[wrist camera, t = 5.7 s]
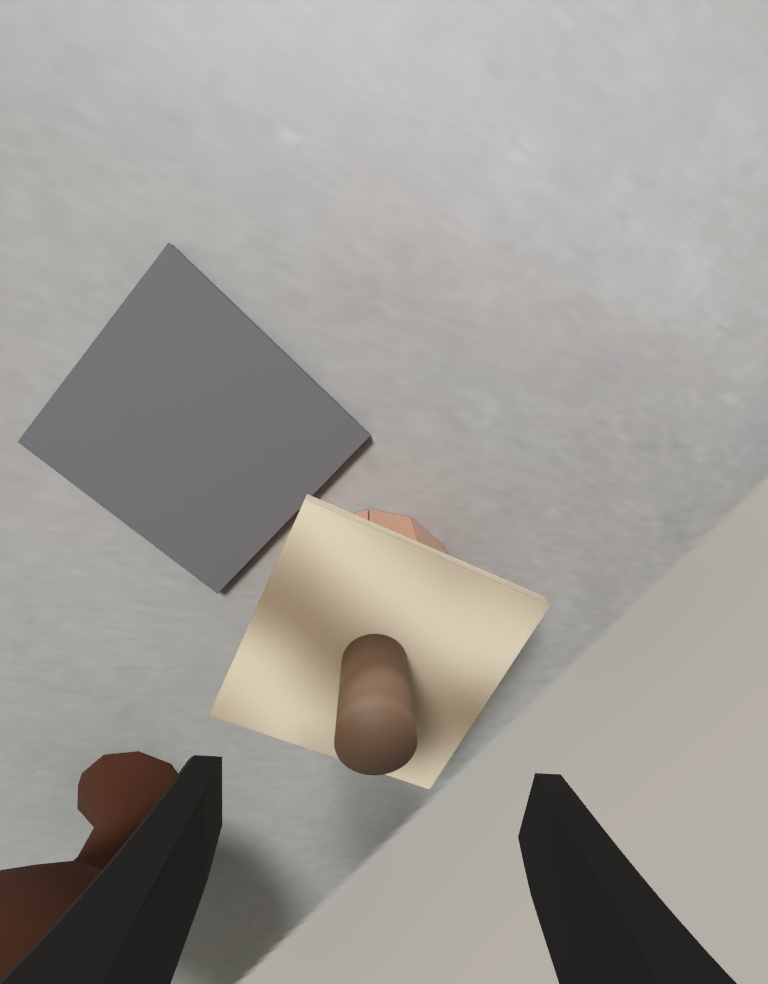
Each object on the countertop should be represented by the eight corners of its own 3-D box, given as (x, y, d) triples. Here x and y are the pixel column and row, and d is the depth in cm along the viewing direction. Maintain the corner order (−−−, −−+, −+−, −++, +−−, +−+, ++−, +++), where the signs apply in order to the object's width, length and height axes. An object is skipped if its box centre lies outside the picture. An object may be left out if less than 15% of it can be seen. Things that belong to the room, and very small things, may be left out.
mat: (173, 245, 15) (168, 242, 15) (370, 434, 17) (370, 435, 17) (25, 440, 17) (17, 441, 16) (220, 588, 19) (217, 593, 19)
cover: (307, 493, 13) (283, 543, 10) (542, 596, 15) (600, 673, 11) (214, 701, 15) (166, 807, 12) (427, 774, 17) (443, 889, 13)
